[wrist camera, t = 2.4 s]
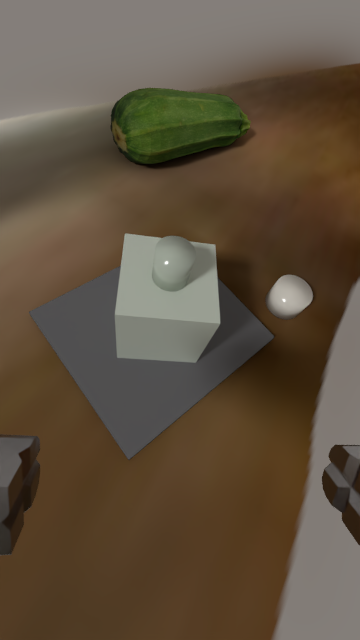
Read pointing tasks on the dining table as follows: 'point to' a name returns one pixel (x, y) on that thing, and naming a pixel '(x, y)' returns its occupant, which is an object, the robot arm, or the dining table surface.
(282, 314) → the glossy white pebble
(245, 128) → the vegetable
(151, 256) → the square capped bottle
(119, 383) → the mat
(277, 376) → the dining table surface
